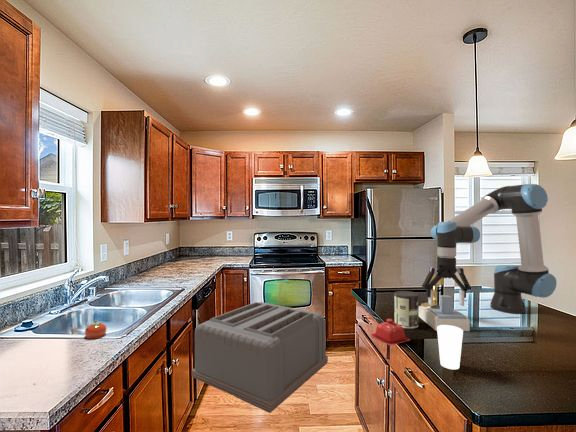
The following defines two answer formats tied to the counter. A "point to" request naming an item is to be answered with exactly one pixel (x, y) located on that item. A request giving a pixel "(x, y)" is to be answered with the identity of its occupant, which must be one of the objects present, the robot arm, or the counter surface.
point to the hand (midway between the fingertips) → (446, 304)
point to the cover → (447, 309)
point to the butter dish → (390, 333)
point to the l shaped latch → (434, 292)
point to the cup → (450, 345)
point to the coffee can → (406, 309)
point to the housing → (435, 321)
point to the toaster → (260, 352)
